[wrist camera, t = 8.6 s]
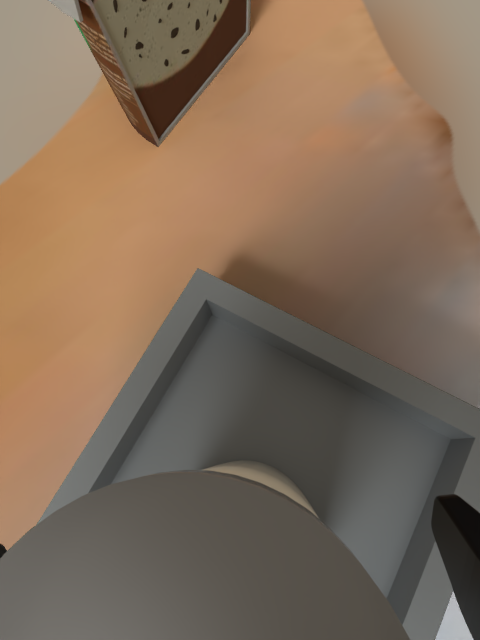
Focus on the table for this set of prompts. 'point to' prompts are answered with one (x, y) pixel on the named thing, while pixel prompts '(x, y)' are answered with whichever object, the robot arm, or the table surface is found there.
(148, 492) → the grey round glossy part
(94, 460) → the charcoal tray
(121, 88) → the food container
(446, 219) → the table surface
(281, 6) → the table surface
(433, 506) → the robot arm
